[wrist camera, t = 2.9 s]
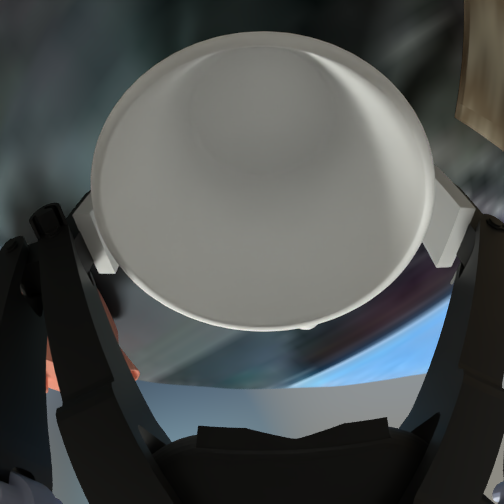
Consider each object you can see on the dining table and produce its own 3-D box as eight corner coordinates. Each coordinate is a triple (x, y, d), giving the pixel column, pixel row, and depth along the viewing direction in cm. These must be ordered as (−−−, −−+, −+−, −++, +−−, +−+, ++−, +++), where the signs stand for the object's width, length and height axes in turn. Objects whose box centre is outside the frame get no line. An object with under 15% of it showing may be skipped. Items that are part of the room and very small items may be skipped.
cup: (318, 20, 11) (417, 4, 3) (359, 213, 18) (411, 353, 11) (159, 68, 13) (33, 135, 5) (236, 241, 20) (223, 386, 12)
